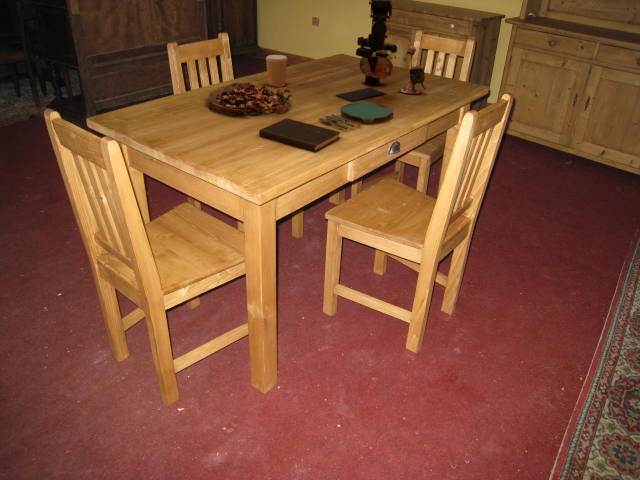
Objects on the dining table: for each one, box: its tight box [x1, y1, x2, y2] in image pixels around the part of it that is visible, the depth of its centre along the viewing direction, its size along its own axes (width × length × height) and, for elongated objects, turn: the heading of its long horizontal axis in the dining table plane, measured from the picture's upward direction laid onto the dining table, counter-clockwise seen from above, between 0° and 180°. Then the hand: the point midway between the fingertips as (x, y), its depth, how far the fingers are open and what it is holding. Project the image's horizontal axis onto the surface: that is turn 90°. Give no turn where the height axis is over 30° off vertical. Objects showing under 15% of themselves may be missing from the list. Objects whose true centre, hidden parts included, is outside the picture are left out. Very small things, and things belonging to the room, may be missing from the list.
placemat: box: [335, 87, 386, 103], centre depth 223 cm, size 20×10×1 cm, turn 130°
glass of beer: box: [265, 54, 288, 88], centre depth 229 cm, size 9×9×12 cm
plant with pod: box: [399, 45, 426, 95], centre depth 223 cm, size 8×11×20 cm
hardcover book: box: [258, 117, 341, 152], centre depth 177 cm, size 16×23×2 cm
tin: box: [359, 56, 394, 80], centre depth 212 cm, size 15×3×8 cm, turn 52°
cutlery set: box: [318, 101, 394, 131], centre depth 196 cm, size 20×30×2 cm, turn 134°
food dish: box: [206, 82, 293, 117], centre depth 205 cm, size 35×33×8 cm
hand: (374, 71), depth 214 cm, fingers closed on tin, 3 cm apart
